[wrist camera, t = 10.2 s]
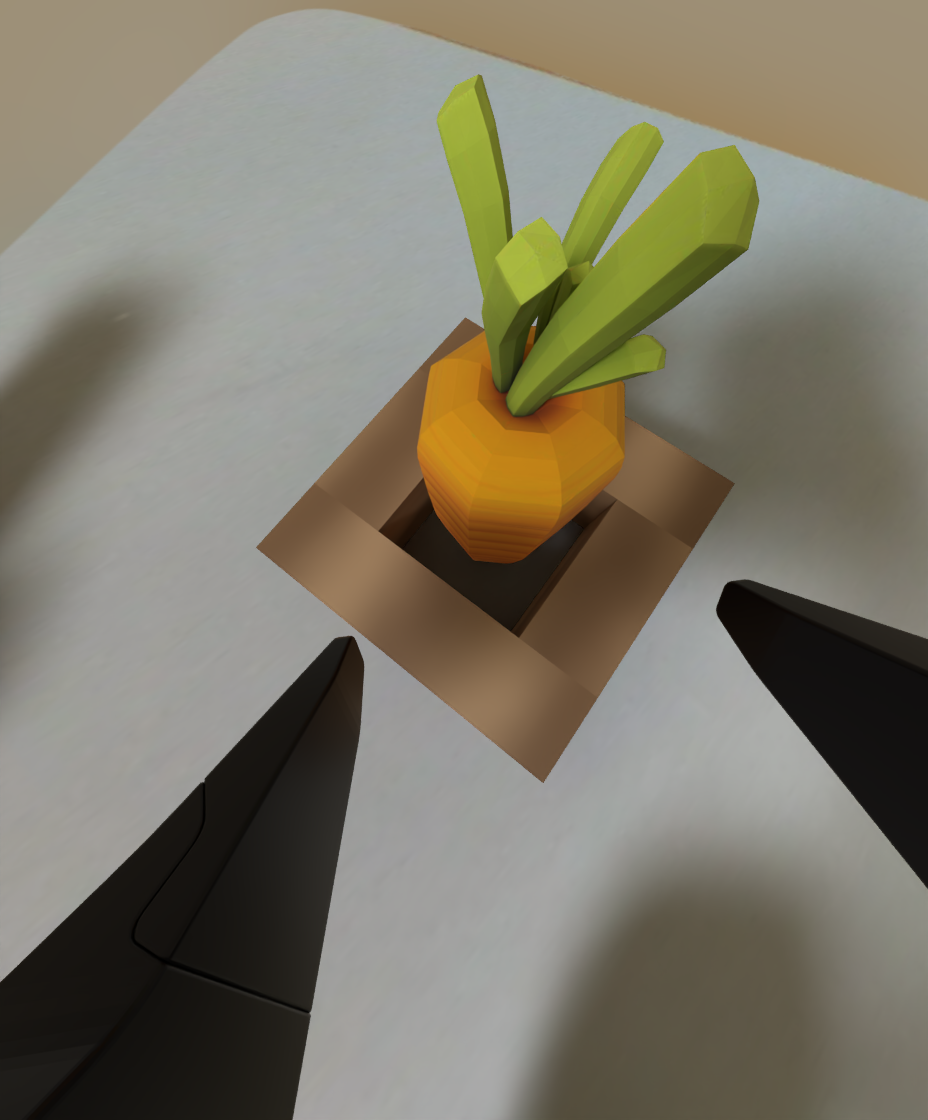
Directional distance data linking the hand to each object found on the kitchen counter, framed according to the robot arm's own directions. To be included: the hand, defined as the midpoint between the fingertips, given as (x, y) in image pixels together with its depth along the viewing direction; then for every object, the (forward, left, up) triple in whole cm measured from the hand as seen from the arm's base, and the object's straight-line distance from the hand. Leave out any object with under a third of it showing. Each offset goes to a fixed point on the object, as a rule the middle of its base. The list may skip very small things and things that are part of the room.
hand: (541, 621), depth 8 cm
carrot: (+3, -3, -9) cm, 10 cm away
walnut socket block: (+3, -3, -9) cm, 10 cm away
